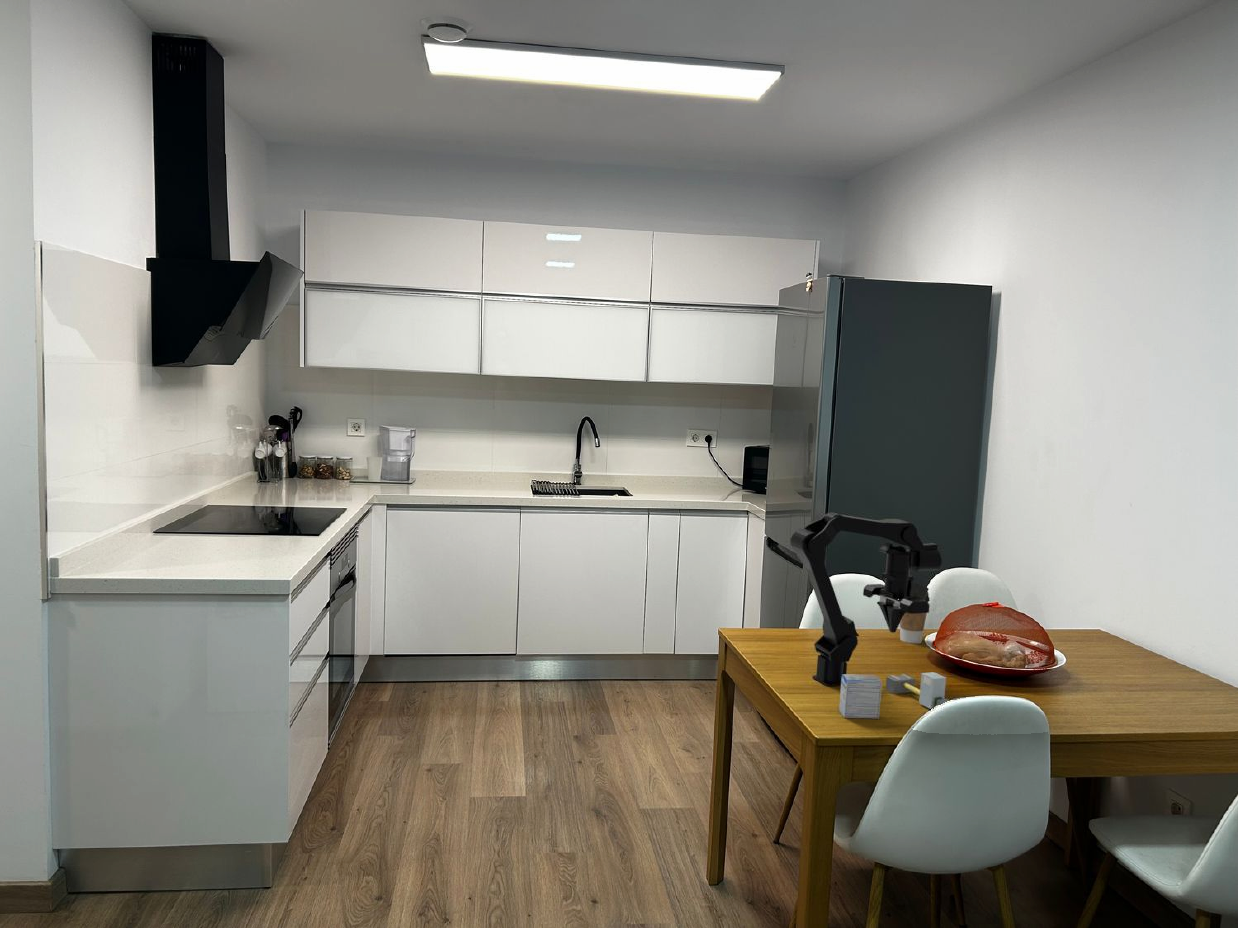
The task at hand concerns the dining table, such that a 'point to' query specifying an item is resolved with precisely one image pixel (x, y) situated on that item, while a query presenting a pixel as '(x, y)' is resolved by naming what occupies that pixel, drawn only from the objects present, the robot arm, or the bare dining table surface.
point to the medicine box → (860, 696)
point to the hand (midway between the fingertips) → (892, 632)
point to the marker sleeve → (931, 688)
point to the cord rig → (906, 686)
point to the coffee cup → (913, 625)
